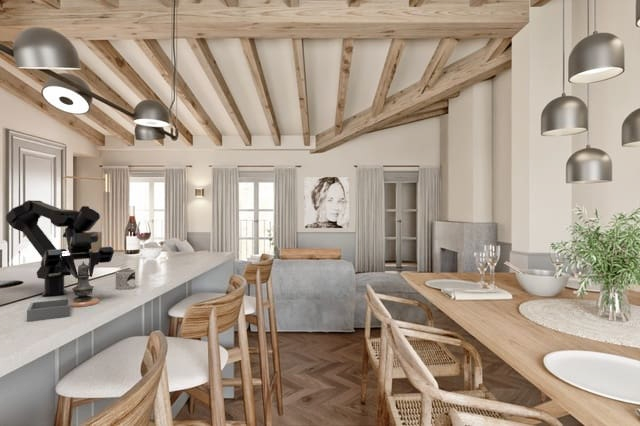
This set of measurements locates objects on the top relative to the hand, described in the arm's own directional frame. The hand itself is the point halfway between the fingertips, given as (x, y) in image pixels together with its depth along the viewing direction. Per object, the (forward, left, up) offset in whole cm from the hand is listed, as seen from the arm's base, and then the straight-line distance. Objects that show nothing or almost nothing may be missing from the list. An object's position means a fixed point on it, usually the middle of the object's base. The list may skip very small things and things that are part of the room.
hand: (84, 277), depth 115 cm
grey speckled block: (-22, +14, -9) cm, 28 cm away
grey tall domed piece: (-1, 0, -7) cm, 8 cm away
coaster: (-1, 0, -9) cm, 9 cm away
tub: (+8, -8, -9) cm, 14 cm away
